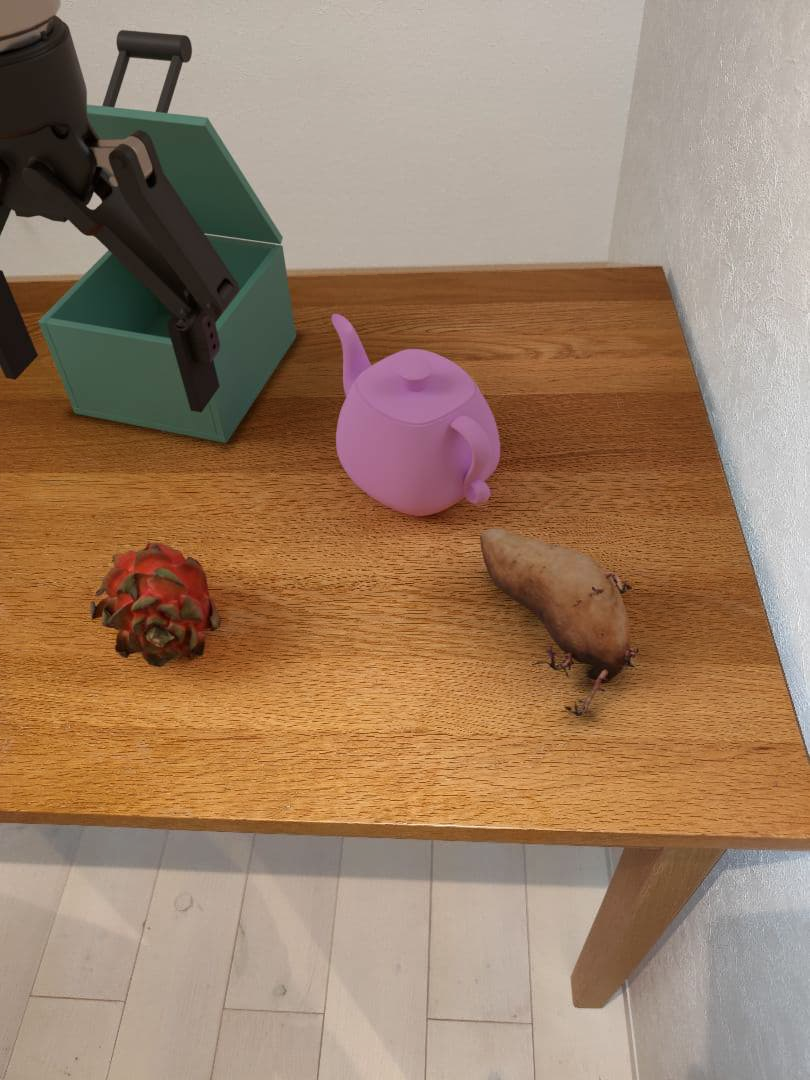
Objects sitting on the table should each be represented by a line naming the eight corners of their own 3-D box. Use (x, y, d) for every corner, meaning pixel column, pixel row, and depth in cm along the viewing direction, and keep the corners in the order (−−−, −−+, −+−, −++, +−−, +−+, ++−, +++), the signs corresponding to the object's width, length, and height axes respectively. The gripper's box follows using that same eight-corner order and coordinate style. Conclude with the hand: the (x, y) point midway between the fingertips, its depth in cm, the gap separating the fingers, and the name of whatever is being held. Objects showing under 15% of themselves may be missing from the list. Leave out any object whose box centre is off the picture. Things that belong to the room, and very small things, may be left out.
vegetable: (402, 593, 68) (453, 485, 63) (487, 569, 76) (538, 471, 71) (556, 736, 60) (628, 625, 56) (632, 692, 69) (700, 592, 64)
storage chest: (226, 443, 85) (203, 349, 77) (74, 413, 88) (37, 321, 80) (296, 336, 96) (282, 245, 88) (158, 314, 99) (133, 224, 91)
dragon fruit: (201, 704, 67) (142, 617, 75) (266, 614, 67) (199, 536, 75) (109, 680, 61) (54, 588, 69) (179, 580, 60) (115, 499, 68)
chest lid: (204, 126, 69) (236, 20, 71) (22, 106, 73) (55, 6, 74) (281, 244, 87) (305, 158, 88) (131, 223, 91) (156, 141, 92)
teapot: (540, 486, 79) (552, 380, 71) (428, 564, 74) (426, 459, 65) (394, 383, 90) (389, 280, 81) (287, 445, 84) (268, 341, 75)
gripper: (256, 16, 42) (309, 376, 58) (-172, -13, 48) (-17, 323, 64) (185, 78, 38) (264, 452, 53) (-280, 38, 43) (-84, 387, 59)
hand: (111, 382), depth 58 cm, fingers open, 13 cm apart
